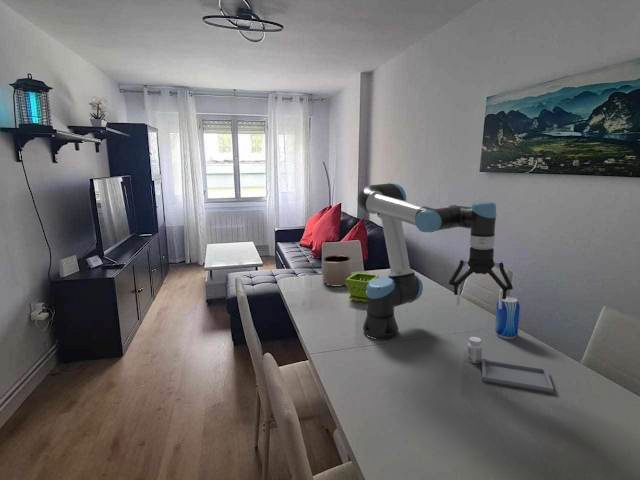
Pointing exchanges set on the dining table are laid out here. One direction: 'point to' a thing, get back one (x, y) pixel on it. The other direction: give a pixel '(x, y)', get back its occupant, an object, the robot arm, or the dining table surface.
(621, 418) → the dining table surface
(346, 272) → the planter
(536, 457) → the dining table surface
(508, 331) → the beer can
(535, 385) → the rest tray
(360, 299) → the flower pot
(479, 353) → the pill bottle
